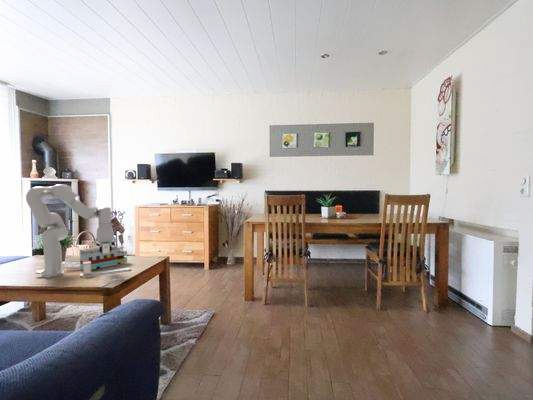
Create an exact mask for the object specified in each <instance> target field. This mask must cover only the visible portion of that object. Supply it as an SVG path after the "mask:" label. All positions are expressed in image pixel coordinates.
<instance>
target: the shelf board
mask: <svg viewBox="0 0 533 400" xmlns="http://www.w3.org/2000/svg"><path fill="white" fill-rule="evenodd" d="M131 271H132V269H131V268H130V267H123V268H115V269H108V270H99V271H91V274H90V275H83V272H82V273H79V278H89V277H96V276H103V275H110V274H111V275H112V274H119V273H124V272H125V273H127V272H131Z"/></svg>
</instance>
